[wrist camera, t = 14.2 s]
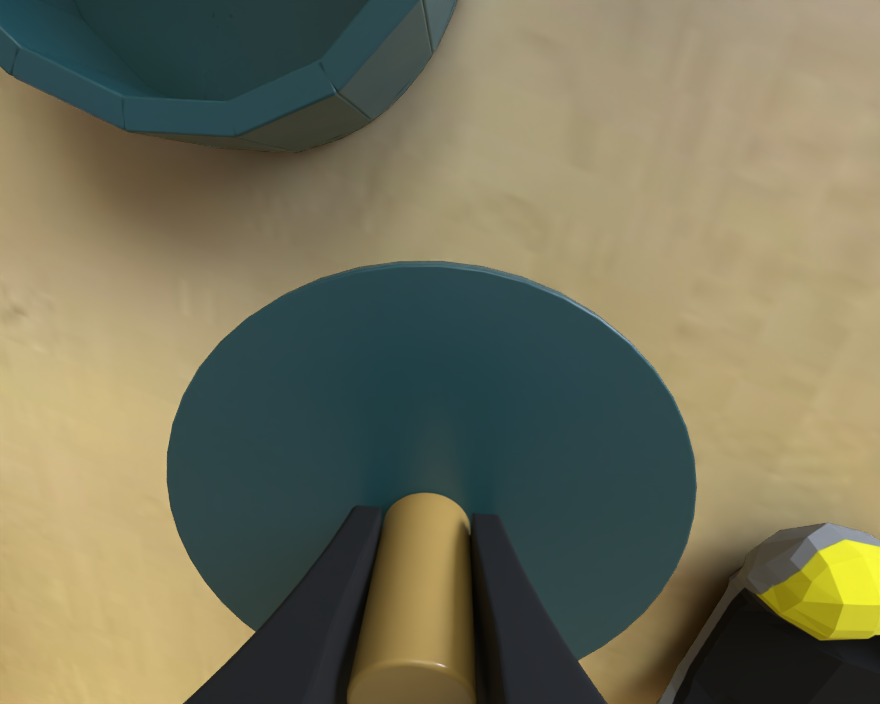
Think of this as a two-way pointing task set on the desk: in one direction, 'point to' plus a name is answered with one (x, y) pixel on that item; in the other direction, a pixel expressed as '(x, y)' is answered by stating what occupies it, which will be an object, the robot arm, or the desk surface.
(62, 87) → the tin
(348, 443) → the tin lid
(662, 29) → the desk surface
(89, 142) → the desk surface
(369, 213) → the desk surface
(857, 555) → the yellow black shoe
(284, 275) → the desk surface
